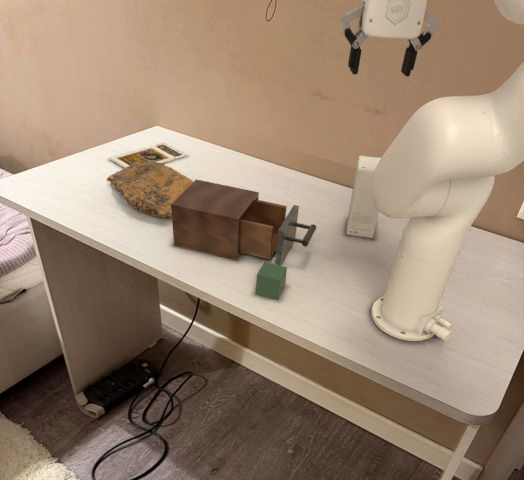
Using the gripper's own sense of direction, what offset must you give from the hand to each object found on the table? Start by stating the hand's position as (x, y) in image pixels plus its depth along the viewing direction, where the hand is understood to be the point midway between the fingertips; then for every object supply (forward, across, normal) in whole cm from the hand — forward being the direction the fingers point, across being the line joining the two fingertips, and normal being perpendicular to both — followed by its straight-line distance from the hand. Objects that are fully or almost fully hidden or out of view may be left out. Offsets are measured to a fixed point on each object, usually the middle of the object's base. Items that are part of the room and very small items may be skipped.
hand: (379, 73), depth 88 cm
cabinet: (+34, -30, -1) cm, 45 cm away
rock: (+34, -46, +18) cm, 59 cm away
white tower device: (+34, +4, +4) cm, 34 cm away
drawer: (+33, -19, -6) cm, 38 cm away
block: (+34, -20, -20) cm, 44 cm away
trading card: (+34, -48, +41) cm, 72 cm away
